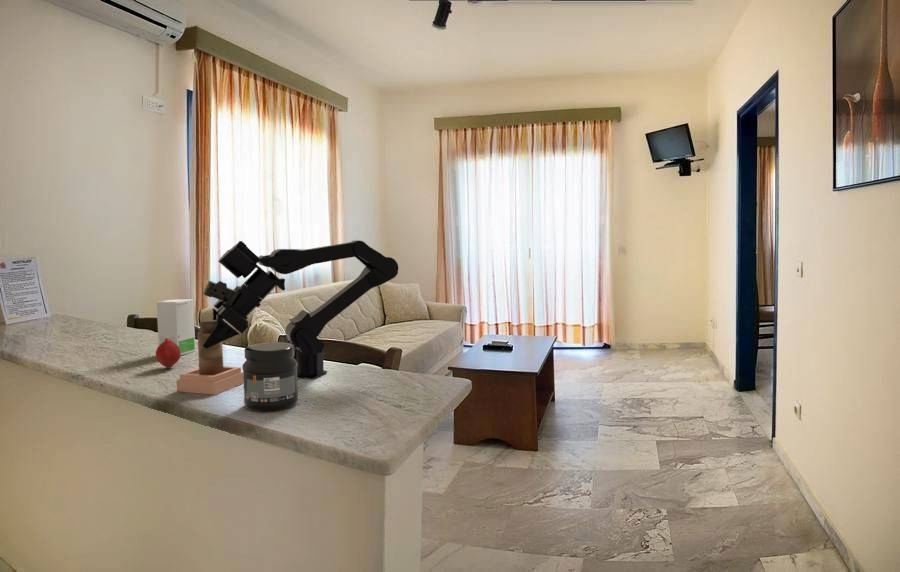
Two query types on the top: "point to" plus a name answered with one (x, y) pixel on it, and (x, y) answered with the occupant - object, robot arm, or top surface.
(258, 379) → the supplement container
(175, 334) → the skincare box
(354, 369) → the top surface
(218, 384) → the mill holder
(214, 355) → the pepper mill
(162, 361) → the onion
